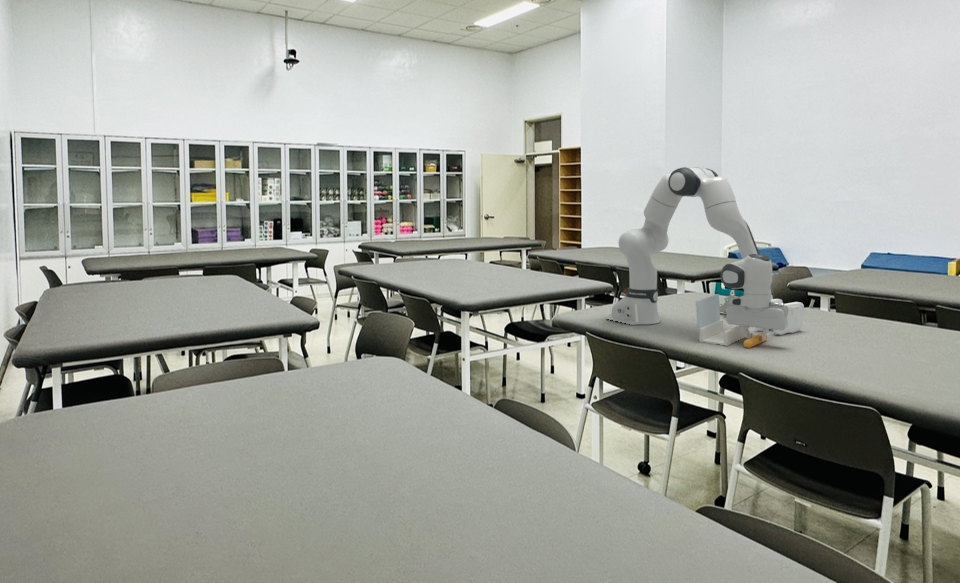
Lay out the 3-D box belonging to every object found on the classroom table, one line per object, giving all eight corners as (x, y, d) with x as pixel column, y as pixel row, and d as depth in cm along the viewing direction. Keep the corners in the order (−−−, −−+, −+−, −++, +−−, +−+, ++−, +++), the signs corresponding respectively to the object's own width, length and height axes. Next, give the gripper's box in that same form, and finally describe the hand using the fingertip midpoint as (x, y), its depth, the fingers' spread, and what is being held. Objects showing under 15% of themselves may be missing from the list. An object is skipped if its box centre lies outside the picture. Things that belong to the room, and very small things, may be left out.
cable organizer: (779, 326, 251) (780, 297, 249) (803, 331, 242) (805, 301, 240) (753, 331, 244) (754, 301, 242) (777, 336, 235) (779, 305, 233)
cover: (699, 328, 229) (697, 328, 229) (720, 320, 242) (718, 320, 242) (698, 301, 228) (695, 300, 228) (719, 294, 241) (716, 294, 241)
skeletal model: (751, 310, 285) (755, 278, 265) (750, 328, 280) (754, 297, 260) (713, 308, 291) (714, 277, 271) (712, 326, 286) (713, 295, 266)
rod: (741, 348, 220) (742, 339, 220) (759, 339, 232) (759, 331, 231) (750, 349, 218) (750, 340, 218) (768, 341, 229) (768, 332, 229)
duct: (699, 342, 230) (699, 328, 229) (720, 333, 243) (720, 320, 242) (726, 346, 223) (727, 332, 222) (746, 336, 236) (747, 323, 235)
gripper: (791, 302, 218) (789, 342, 220) (732, 296, 232) (730, 334, 234) (785, 305, 213) (783, 345, 215) (725, 299, 227) (723, 337, 229)
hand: (755, 339), depth 225 cm, fingers closed on rod, 3 cm apart
